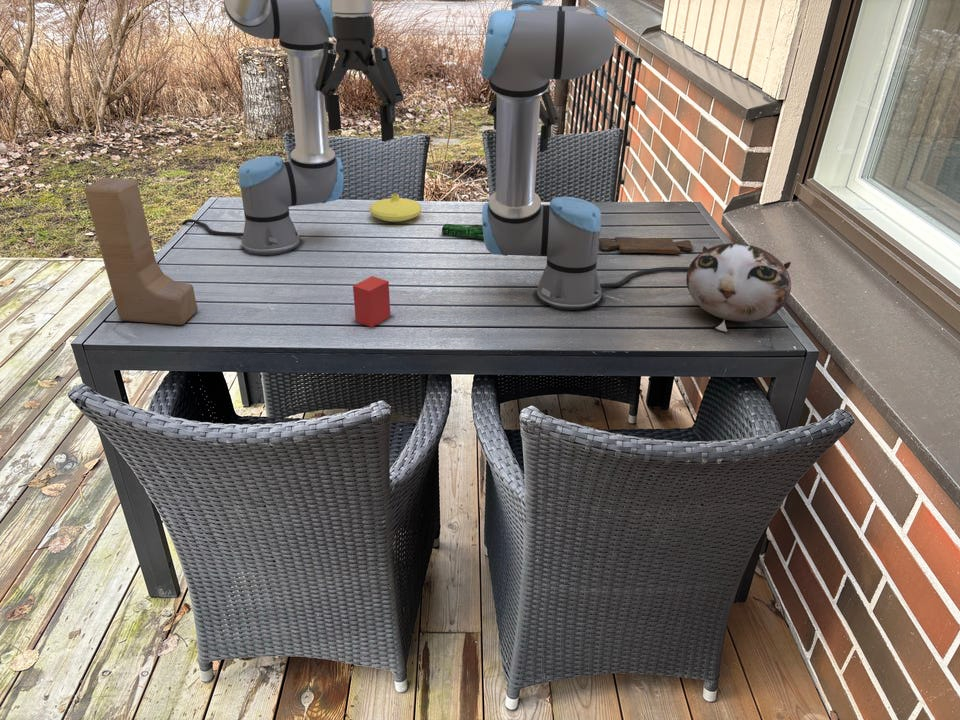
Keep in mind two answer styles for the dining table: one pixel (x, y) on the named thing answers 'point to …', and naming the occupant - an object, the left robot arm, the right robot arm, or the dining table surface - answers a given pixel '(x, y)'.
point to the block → (371, 301)
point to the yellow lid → (395, 209)
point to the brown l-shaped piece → (134, 257)
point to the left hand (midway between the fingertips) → (361, 135)
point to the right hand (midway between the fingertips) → (521, 147)
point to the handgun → (464, 231)
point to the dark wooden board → (645, 245)
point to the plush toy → (738, 282)
